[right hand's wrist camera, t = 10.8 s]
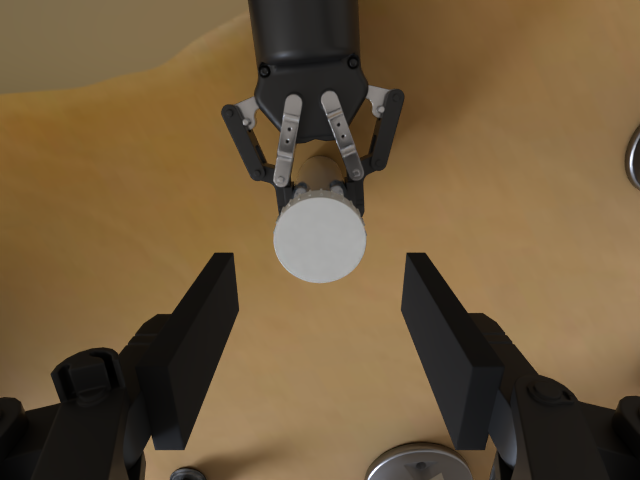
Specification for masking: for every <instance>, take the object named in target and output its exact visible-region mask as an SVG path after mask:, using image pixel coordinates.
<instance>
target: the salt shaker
mask: <svg viewBox="0 0 640 480" xmlns="http://www.w3.org/2000/svg"><path fill="white" fill-rule="evenodd" d="M170 480H206V478H205V477H204V475H203V474H202V473H200V472H199V471H196V470H193V469H187V468H184V469H179V470H176V471H175V472H173V473H172V475H171V477H170Z"/></svg>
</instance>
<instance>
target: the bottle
mask: <svg viewBox="0 0 640 480" xmlns="http://www.w3.org/2000/svg"><path fill="white" fill-rule="evenodd" d="M320 189H322V190H326V191H331V190H333V192H334V193H337V194H339V195H341V194H343V196H344V197H345V198H346V199H348V200H349V201H350V199H349V196H348V193H347V190H346V186H345V183H344V180H343V177H342V173H341V170H340V168H339V166H338V165H337V163H336V162H335V161H334V160H332V159H330V158H328V157H325V156H315V157H312V158H310V159H308V160H307V161H305V162H304V163H303V165H302V166H301V168H300V170H299V173H298V177H297V180H296V183H295V186H294V190H293V193H292V196H291V199H292V200H293V199H294V198H295V197H297V196H298V195H299V193H301V194H303V193H306V192H309V190H311V191H314V190H320Z"/></svg>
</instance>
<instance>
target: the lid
mask: <svg viewBox="0 0 640 480" xmlns="http://www.w3.org/2000/svg"><path fill="white" fill-rule="evenodd" d="M360 216H361V215H360V212H359V210H358V208H357V209H356V208H355V206H354V205H353V203H352V201H351V200H350V201H349V200H348V199H346V198H345V197H344V196H343V194H341V195H339V194H337V193H334V192H333V190H331V191H326V190H322V189H320V190H314V191H311V190H309V192H306V193H303V194H301V193H299V195H298V196H297V197H295V198H294V199H293V200H292V199H290V201H289V203H288V204H287V205H286V206H285V207H283V208H282V211H281V215H280V216H278V218H277V221H276V224H277V225H276V227H275V229H274V232H273V234H274V247H275V251H276V254H277V257H278V259H279V260H280V262H281V264H282V265H283V266H284V267H285V268H286V269H287V270H288V271H289V272H290V273H291V274H293V275H294V276H296V277H298V278H300V279H302V280H305V281H308V282H314V283H326V282H332V281H335V280H338V279H340V278H342V277H344V276H346V275H347V274H349V273H350V272H351V271H352V270H353V269H354V268H355V267H356V266H357V265H358V264H359V262H360V260H361V259H362V257H363V254H364V251H365V247H366V236H367V234H366V231H365V228H364V226H365V224H364V221H363V218H361V217H360Z"/></svg>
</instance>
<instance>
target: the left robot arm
mask: <svg viewBox="0 0 640 480" xmlns="http://www.w3.org/2000/svg"><path fill="white" fill-rule="evenodd" d="M248 4H249V11H250V19H251V26H252V33H253V40H254V47H255V55H256V62H257V69H258V82H257V86H256V88H255V92H254V96H253V97H251V98H249V99H246V100H244V101H242V102H239V103H237V104H228V105H225V106H224V107H223V108H222V111H221V114H222V117H223V119H224V121H225V123H226V125H227V128H228V130H229V132H230V134H231V136H232V138H233V140H234V142H235V145H236V147H237V149H238V151H239V153H240V155H241V157H242V160H243V162H244V164H245V166H246V168H247V170H248V172H249V174H250V177H251V178H252V179H253V180H255V181H260V180H261V181H265V182H268V183H271V184H272V185H273V186H274V187H275V189H276V196H277V203H278V211H279V216H280V215H281V211H282V208H283V207H285V206H286V205H287V204H288V203H289V201H290V199H291V196H292V193H293V190H294V181H293V182H291V172H292V167H293V161H294V156H295V152H296V147H297V144H298V143H306V142H309V141H311V140H314V139H318V140H323V141H331V140H336V143H337V145H338V148H339V151H340V153H341V156H342V159H343V161H344V164H345V166H346V173H347V177H344V179H345V186H346V190H347V193H348V196H349V199H350V200H351V201H352V203H353V205H354V206H355V208H356V209H357V208H358V210H359V212H360V215H361V216H360V217H362V216H363V214H364V191H363V181H364V178H365V177H366V176H367V175H368V174H370V173H372V172H374V171H376V170H377V171H380V170H383V169H384V168H385V167H386V164H387V161H388V157H389V153H390V150H391V146H392V142H393V139H394V135H395V131H396V127H397V124H398V120H399V116H400V113H401V109H402V105H403V101H404V93H403V92H402V91H401V90H400V89H390V90H388V89H384V88H380V87H375V86H371V85H368V81H367V79H366V77H365V75H364V74H363V71H362V68H361V62H360V38H359V13H358V0H248ZM365 99H367V100H368V101H369V102H370V104H371V113H372V115H373V116H374V117H377V121H376V125H375V129H374V133H373V137H372V141H371V145H370V149H369V153H368V155H365V156H363V157H361V158H359V156H358V153H357V150H356V147H355V144H354V141H353V138H352V136H351V133H350V130H349V125H350V124H351V122H352V120H353V118H354V117H355V115H356V113H357V112H358V110H359V108H360V107H361V105H362V103H363V102H364V100H365ZM259 109H260V110H261V111H262V112H263V113H264V114H265V115H266V117H267V118H268V119H269V120H270V121H271V122H272V123H273V125H274V126H275V127H276V128H277V129H278V130H279V132H280V139H279V144H278V150H277V160H276V165H272V164H268V163H267V161H266V159H265V156H264V154H263V152H262V150H261V147H260V145H259V143H258V141H257V139H256V136H255V134H254V132H253V130H252V129H253V128H255V127H256V125H257V118H256V113H257V111H258V110H259ZM625 170H626V174H627V176H628V179H629V180H630V182H631V183H632V185H633V186H634V187H635V188H637V189H638V190H640V125H639V126H638V128H637V129H636V131H635V132H634V134H633V136H632V137H631V140H630V142H629V144H628V147H627V151H626V155H625Z"/></svg>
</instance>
